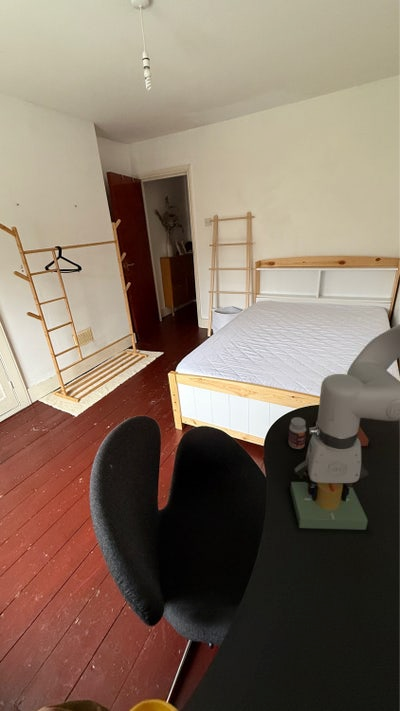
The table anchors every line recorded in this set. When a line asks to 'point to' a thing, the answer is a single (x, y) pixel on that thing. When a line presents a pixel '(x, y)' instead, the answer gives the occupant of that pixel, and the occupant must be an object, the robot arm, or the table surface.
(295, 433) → the pill bottle
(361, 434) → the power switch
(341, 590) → the table surface
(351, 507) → the control panel
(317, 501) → the dial
